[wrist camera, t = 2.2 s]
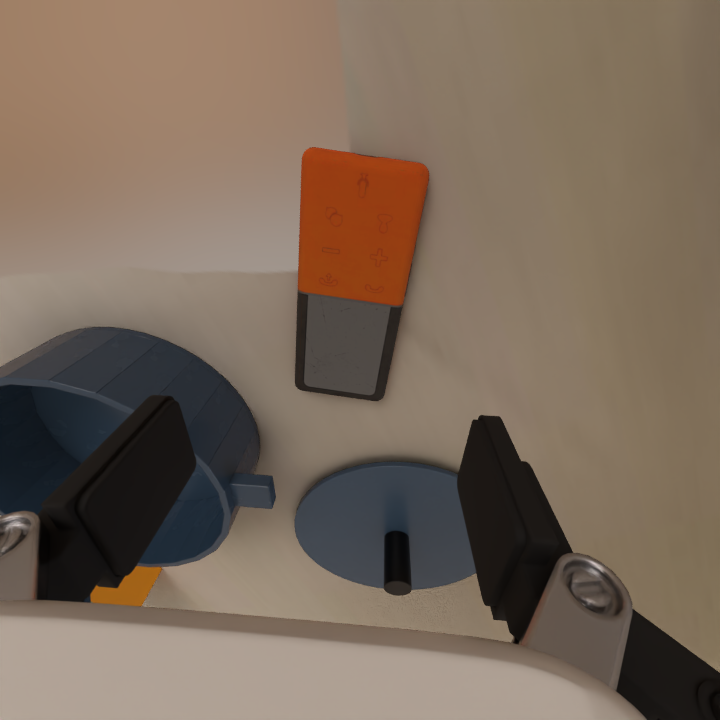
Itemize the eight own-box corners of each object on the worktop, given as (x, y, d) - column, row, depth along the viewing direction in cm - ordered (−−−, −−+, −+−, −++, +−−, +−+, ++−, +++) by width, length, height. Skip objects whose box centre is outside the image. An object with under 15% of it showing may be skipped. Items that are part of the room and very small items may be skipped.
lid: (289, 446, 29) (270, 505, 24) (528, 465, 28) (557, 529, 23) (302, 570, 39) (290, 628, 34) (476, 587, 38) (489, 648, 33)
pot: (-53, 316, 24) (-184, 363, 19) (281, 337, 23) (247, 395, 18) (60, 488, 34) (-3, 552, 29) (298, 509, 33) (279, 580, 28)
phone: (433, 165, 16) (383, 406, 24) (431, 164, 17) (383, 395, 25) (299, 145, 16) (292, 392, 24) (305, 145, 17) (297, 382, 25)
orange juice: (63, 544, 40) (-180, 834, 23) (119, 532, 38) (-104, 844, 21) (110, 578, 43) (-71, 850, 26) (163, 569, 41) (5, 860, 24)
